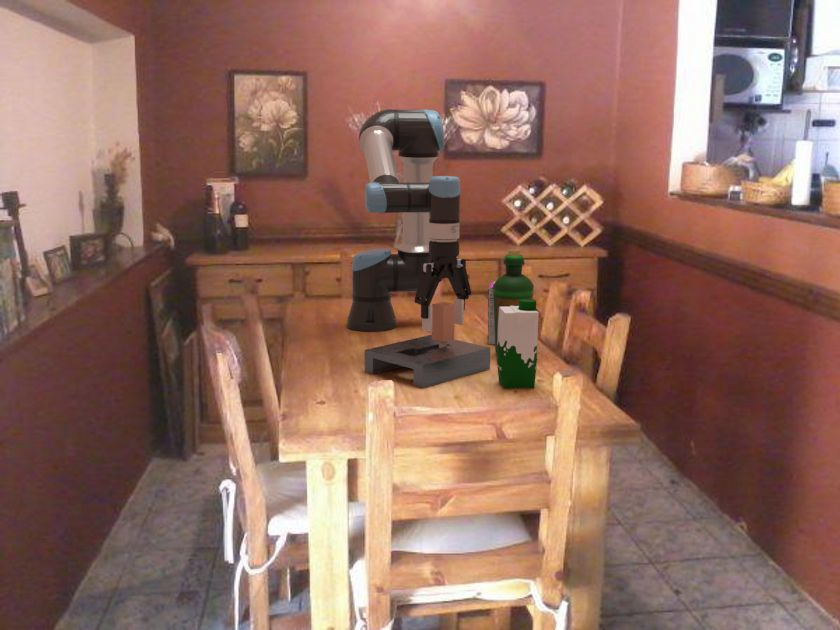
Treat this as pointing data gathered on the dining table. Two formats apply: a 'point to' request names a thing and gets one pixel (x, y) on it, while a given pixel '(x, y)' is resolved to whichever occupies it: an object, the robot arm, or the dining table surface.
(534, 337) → the milk carton
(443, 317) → the keyhole peg
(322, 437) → the dining table surface
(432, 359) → the keyhole bracket
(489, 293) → the candy bar box
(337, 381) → the dining table surface
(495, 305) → the bottle
